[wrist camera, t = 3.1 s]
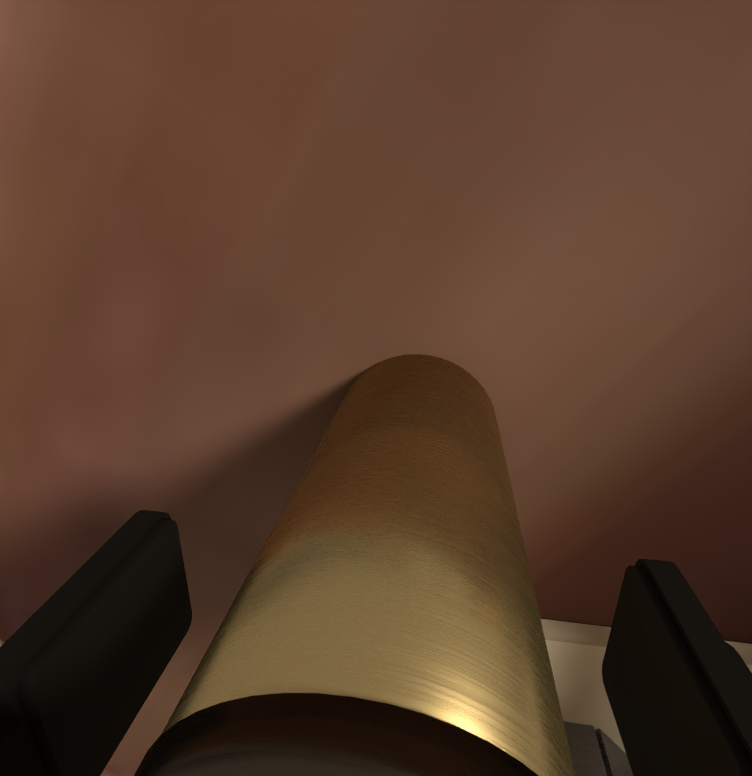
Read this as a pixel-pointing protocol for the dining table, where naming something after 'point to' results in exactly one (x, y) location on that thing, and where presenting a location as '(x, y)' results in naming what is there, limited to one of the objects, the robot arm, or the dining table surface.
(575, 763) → the ring
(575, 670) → the board
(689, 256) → the dining table surface
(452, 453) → the gold cylinder
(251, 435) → the dining table surface
